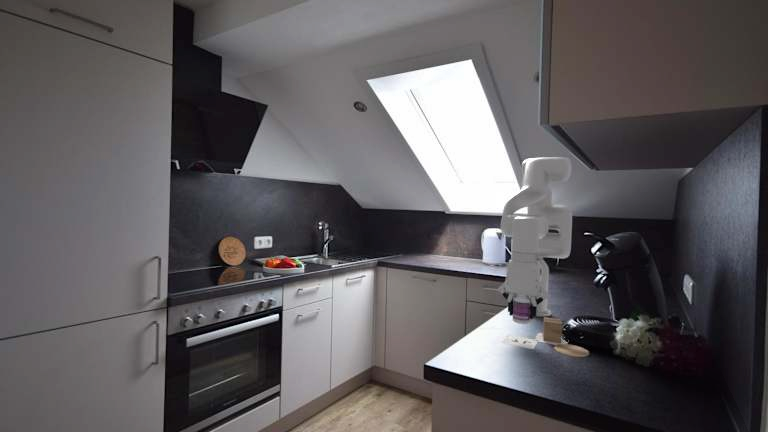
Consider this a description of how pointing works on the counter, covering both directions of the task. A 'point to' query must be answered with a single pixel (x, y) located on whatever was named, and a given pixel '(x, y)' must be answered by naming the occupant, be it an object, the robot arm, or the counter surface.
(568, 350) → the cork coaster
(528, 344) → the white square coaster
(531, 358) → the counter surface
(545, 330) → the walnut block
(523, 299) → the pill bottle
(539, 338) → the tile block
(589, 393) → the counter surface
